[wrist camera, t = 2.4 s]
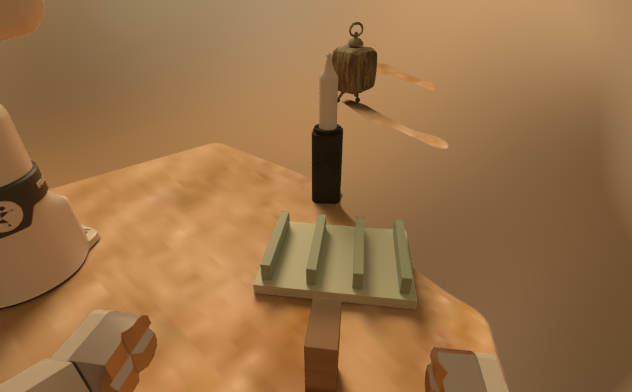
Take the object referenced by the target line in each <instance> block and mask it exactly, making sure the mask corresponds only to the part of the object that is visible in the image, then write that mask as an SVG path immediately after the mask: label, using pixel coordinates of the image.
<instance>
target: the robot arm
mask: <svg viewBox="0 0 632 392" xmlns="http://www.w3.org/2000/svg"><path fill="white" fill-rule="evenodd" d="M44 5H45V2H44V0H0V41H2V40H6V39H10V38H14V37H18V36H22V35H26V34H30V33H34V31H35V30H36V29H37V27H38V26H39V24H40V22H41V20H42V17H43V13H44ZM99 238H100V235H99V233H98V232H97V231H96V230H94V229H92V228H89V227H87V226H85V225H82V224H80V222H79V220H78V218H77V216H76V214H75V212H74V210H73V208H72V206H71V204H70V202H69V200H68V199H67V198H66V197H65V196H61V195H60V194H58V193H54V192H51V191H49V190H48V186H47V184H46V181H45V179H44V175H43V173H42V171H41V170H40V169H39V168H38V166H37V164H36V163H35V162H33V161H31V160H30V158H29V156H28V154H27V152H26V150H25V148H24V146H23V144H22V141H21V139H20V137H19V135H18V133H17V131H16V129H15V126H14V124H13V122H12V121H11V118H10V116H9V114H8V112H7V110H6V109H5V108H4V107H3V106H2V105H1V104H0V308H3V307H7V306H11V305H15V304H18V303H21V302H24V301H27V300H29V299H32V298H34V297H36V296H39V295H41V294H43V293H45V292H47V291H49V290H50V289H52V288H54V287H56V286H57V285H59V284H60V283H62V282H63V281H65V280H66V279H67V278H69V277H70V276H71V275H72V274H73V273H74V272H76V271H77V270H78V268H79V267H80V266H81V265H82V264H83V262H84V260H85V259H86V256H87V254H88V251H89V249H90V248H91V247H92V246H93V245H94V244H95V243H96V242H97V241H98V240H99ZM150 324H151V322H150V320H149V317H148V316H147V315H140V314H132V313H124V312H117V311H110V310H101V309H96V310H94V311H93V312H91V313H90V314H89V315H88V316H87V317H86V318H85V319H84V320H83V322H82V323H81V324H80V325H79V326H78V327H77V328H76V329H75V331H74V332H73V333H72V334H71V335H70V336H69V337H68V339H67V340H66V341H65V342H64V343H63V344H62V345H61V347H60V348H59V349H58V350H57V351H56V352H55V353H54V354H53V356H52V357H51V358H50V359H43V360H41V361H40V362H38V363H36V364H34V365H33V366H31V367H29V368H27V369H26V370H24V371H22V372H20V373H19V374H17V375H15V376H14V377H12V378H10V379H8V380H7V381H5V382H3V383H1V384H0V392H133V391H134V390H135V388H136V386H137V385H138V383H139V373H140V372H141V371H142V370H144V369H145V368H146V367H148V366H149V364H150V362H151V361H152V359H153V357H154V354H155V351H156V347H157V338H156V335H155V333H154V332H153V331H152V330H151V329H149V328H148V327H149V325H150ZM430 357H431V364H429V365H427V369H426V374H425V391H426V392H509V389H508V387H507V384H506V381H505V379H504V376H503V373H502V370H501V368H500V365H499V362H498V359H497V358H496V356H495V355H494V354H491V353H480V352H472V351H467V350H457V349H446V348H436V347H434V348H433V349H432V351H431V354H430Z"/></svg>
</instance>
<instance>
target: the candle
mask: <svg viewBox="0 0 632 392" xmlns="http://www.w3.org/2000/svg"><path fill="white" fill-rule="evenodd" d="M326 56H327V60H326V64H325V67H324V70H323V72H322V73H321V75H320V77H319V78H320V79H319V83H320V84H319V124H317V125H315V127H314V129H313V132H312V200H313V201H314V202H317V203H338V202H339V201H340V186H341V165H342V141H343V140H342V139H343V128H341V126H340V125H338V124H337V99H338V76H337V74H336V72H335V70H334V67H333V63H332V59H331V58H332V54H331V53H328V54H327V55H326Z"/></svg>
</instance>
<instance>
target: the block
mask: <svg viewBox="0 0 632 392" xmlns="http://www.w3.org/2000/svg"><path fill="white" fill-rule="evenodd" d="M341 306H342V298H332V297H322V296H313V300H312V306H311V311H310V317H309V322H308V328H307V334H306V339H305V345H304V359H305V392H336V384H337V372H338V356H339V339H340V323H341Z"/></svg>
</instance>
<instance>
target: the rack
mask: <svg viewBox="0 0 632 392" xmlns="http://www.w3.org/2000/svg"><path fill="white" fill-rule="evenodd" d="M253 288H254V293H257V294H266V295H276V296H286V297H296V298H305V299H313V296H322V297H332V298H342V302H345V303H354V304H364V305H374V306H384V307H393V308H403V309H413V310H416V307H417V302H418V300H417V294H416V288H415V281H414V275H413V269H412V263H411V257H410V251H409V245H408V239H407V233H406V230H405V228H404V223H403V220H395V222H394V229H381V228H368V227H364V217H356V225H355V226H343V225H330V224H326V215H325V214H318V217H317V222H316V223H304V222H291V221H289V212H285V211H281V213H280V216H279V218H278V221H277V224H276V226H275V229H274V231H273V234H272V236H271V239H270V241H269V244H268V246H267V249H266V251H265V254H264V256H263V259H262V261H261V264H260V268H259V271H258V273H257V276H256V278H255V281H254V284H253Z"/></svg>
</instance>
